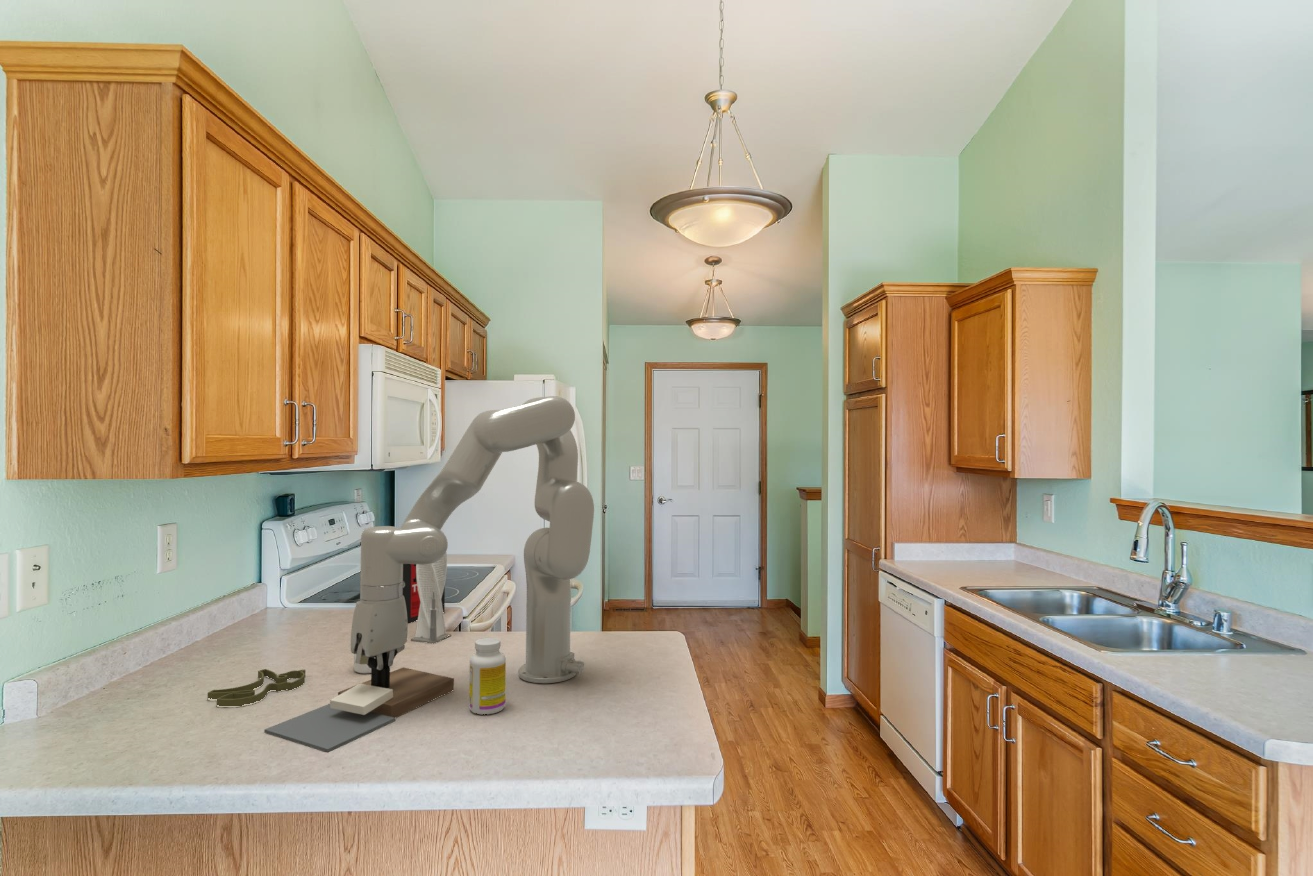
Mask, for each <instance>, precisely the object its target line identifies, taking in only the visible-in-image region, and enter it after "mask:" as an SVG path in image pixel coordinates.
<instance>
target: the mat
mask: <svg viewBox="0 0 1313 876" xmlns="http://www.w3.org/2000/svg"><path fill="white" fill-rule="evenodd" d="M393 722H396V718H394V717H390V716H386V715H383V714H379V713H375V712H371V711H370V712H368V713H367V714H365V715H362V714H357V713H352V712H347V711H343V710H338V709H333V708H331V707H330V703H328V704H325V705H323V706H320V707H317V708H315V709H312V710H311V711H307V712H305V713H302V714H299V715H297V716H294V717H292V718H290V719H288V720H285V721H282V722H279V723H277V724H274V725H273V726H270V727H268V728H265V729H264V730H263V731H264V733H265V734H268V735H271V736H275V737H278V738H280V739H284V740H287V741H291V742H294V743H297V744H300V745H304V746H307V747H310V748H313V749H315V750H319V751H323V752H326V753H329V752H331V751H333V750H336V749H338V748H340V747H342V746H344V745H346V744H349V743H351V742H353V741H354V740H358V739H359V738H361V737H363V736H365V735H367V734H370V733H372V732H374V731H377V730H378V729H380V728H383V727H385V726H387V725H388V724H391V723H393Z"/></svg>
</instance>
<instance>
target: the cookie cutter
mask: <svg viewBox="0 0 1313 876" xmlns="http://www.w3.org/2000/svg"><path fill="white" fill-rule="evenodd" d="M264 676H268V677H269V678H268V679H270V678H272V679H274V680H275V681H276V682H275V681H274V682H271V683H267V684H266V685H265V686H264V687H263V689H262V691H260V692H259V693H257V694H256V693H255V692H256V690H253V689H254V688H257V687H259V686H261V685H262V684H263V682H264V683H265V680H264V678H265V677H264ZM258 678H261V679H258ZM289 678H293V679H295V680H294V681H288V680H287V679H289ZM296 678H298V679H296ZM257 679H258V680H256V681H253V682H252V683H251V682H250V683H248V684H245V685H242V686H241V685H240V686H237V687H231V688H222V689H220V688H219V689H212V690H210V691H208V692H207V699H208V698H210V699H211V698H212V699H217V701H216V706H217V705H219V706H242V705H244V704H250V703H254V702H256V701H260V700H261V699H263V698H264V697H265V695H266V694H267V692H268V691H270V690H276V691H281V690H285V691H289V690H292V689H294V688H296V689H298V688H300V687H302V686H304V684H305V682H306V681H305V679H306V669H299V670H298V669H297V670H290V671H286V672H284V673H279V674H278V673H276V672H274V671H273V670H270V669H267V668H263V669H260V670H257ZM272 679H271V680H272ZM289 680H290V679H289ZM303 683H304V684H303ZM263 685H264V684H263ZM263 685H262V686H263ZM301 685H302V686H301ZM262 686H261V687H262ZM299 686H300V687H299ZM297 687H298V688H297ZM286 689H288V690H286ZM294 690H295V689H294ZM292 691H293V690H292ZM281 692H282V691H281ZM267 695H268V694H267ZM267 695H266V696H267ZM265 698H266V697H265ZM265 698H264V699H265ZM264 699H263V700H264ZM260 702H261V701H260Z"/></svg>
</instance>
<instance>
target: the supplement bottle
mask: <svg viewBox="0 0 1313 876" xmlns="http://www.w3.org/2000/svg"><path fill="white" fill-rule="evenodd" d="M474 649H475V651H476V652H475V653H474V654H472V655H471V657H470V659H469V693H468V694H469V695H468V696H469V699H468V701H469V706H468V707H469V710H470V712H471V713H473V714H476V713H477V715H483V714H484V715H485V714H487V715H492V714H496V713H499V712H501V711H502V710H504V708H505V707H506V664H507V663H506V662H507V661H506V656H505V654H504V653H502V652H501V651H500V649H501V639H500V638H497V637H484V638H483V637H482V638H479V639H477V640H475V642H474Z"/></svg>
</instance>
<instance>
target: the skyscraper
mask: <svg viewBox="0 0 1313 876" xmlns="http://www.w3.org/2000/svg"><path fill="white" fill-rule="evenodd" d="M447 567H448V557H447V552H446V553H445V555H444V556H443V557H442V558H441V559H440V560H438V561H437V562H435V563H432V564H425V565H421V564H416V578H417V587H418V593H419V598H420V608H419V615H418V621H416V631H415V636H414V637H413V638H410V641H411V642H418V643H424V642H427V644H432V643H433V645H434V643H435V644H437V643H440V642H441V641H443V639H444V638H445V637H447V636H448V635H451V636H452V634H451V633H447V632H446V631H447V630H446V622H445V616H444V614H445V613H444V614H443V607H442V601H441V598H442V594H443V590H444V586H445V585H446V580H447V574H448V573H447V572H448V571H447V570H448V568H447ZM440 640H441V641H440ZM444 640H445V639H444ZM436 642H437V643H436Z"/></svg>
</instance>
